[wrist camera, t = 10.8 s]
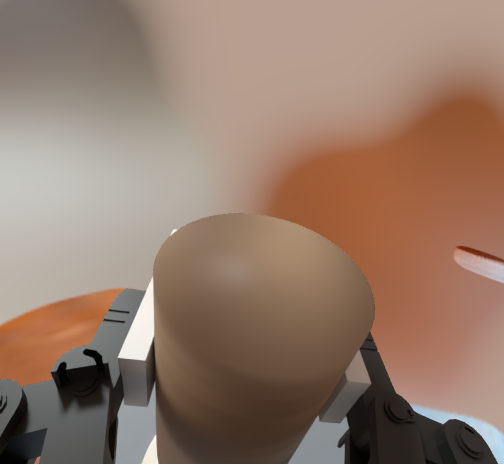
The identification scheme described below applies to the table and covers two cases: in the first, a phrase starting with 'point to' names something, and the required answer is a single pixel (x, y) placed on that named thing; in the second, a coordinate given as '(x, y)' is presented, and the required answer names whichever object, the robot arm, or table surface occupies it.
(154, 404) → the seat board
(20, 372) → the table surface
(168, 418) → the brown cylinder
